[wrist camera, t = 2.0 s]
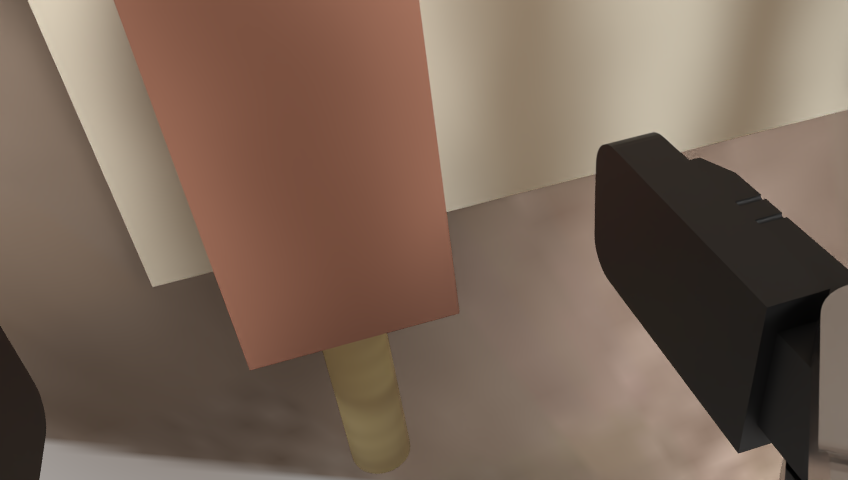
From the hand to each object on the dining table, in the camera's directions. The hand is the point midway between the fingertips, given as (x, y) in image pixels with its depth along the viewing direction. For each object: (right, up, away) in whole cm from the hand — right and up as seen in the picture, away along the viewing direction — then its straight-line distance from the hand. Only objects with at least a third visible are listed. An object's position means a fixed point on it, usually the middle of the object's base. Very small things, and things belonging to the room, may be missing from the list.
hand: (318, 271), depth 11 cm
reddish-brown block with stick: (-1, +3, +8) cm, 9 cm away
